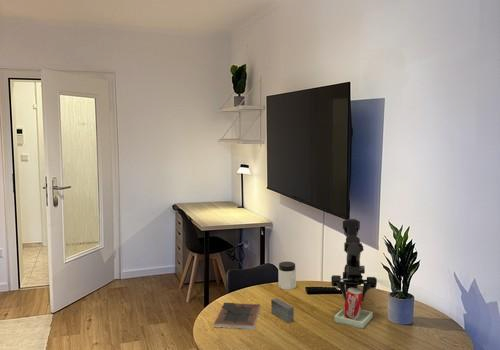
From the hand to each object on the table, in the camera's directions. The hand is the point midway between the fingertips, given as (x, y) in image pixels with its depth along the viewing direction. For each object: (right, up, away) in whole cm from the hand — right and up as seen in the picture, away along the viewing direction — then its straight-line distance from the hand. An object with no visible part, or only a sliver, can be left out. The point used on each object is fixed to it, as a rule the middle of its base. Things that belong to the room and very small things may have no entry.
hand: (354, 300), depth 191 cm
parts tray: (0, -9, +2) cm, 9 cm away
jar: (-24, -4, +41) cm, 48 cm away
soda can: (0, -8, +3) cm, 8 cm away
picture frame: (-48, -10, +7) cm, 50 cm away
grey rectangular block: (-29, -9, +6) cm, 31 cm away
